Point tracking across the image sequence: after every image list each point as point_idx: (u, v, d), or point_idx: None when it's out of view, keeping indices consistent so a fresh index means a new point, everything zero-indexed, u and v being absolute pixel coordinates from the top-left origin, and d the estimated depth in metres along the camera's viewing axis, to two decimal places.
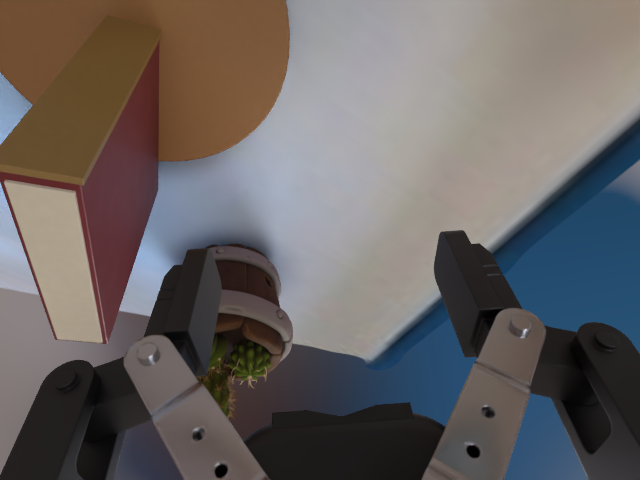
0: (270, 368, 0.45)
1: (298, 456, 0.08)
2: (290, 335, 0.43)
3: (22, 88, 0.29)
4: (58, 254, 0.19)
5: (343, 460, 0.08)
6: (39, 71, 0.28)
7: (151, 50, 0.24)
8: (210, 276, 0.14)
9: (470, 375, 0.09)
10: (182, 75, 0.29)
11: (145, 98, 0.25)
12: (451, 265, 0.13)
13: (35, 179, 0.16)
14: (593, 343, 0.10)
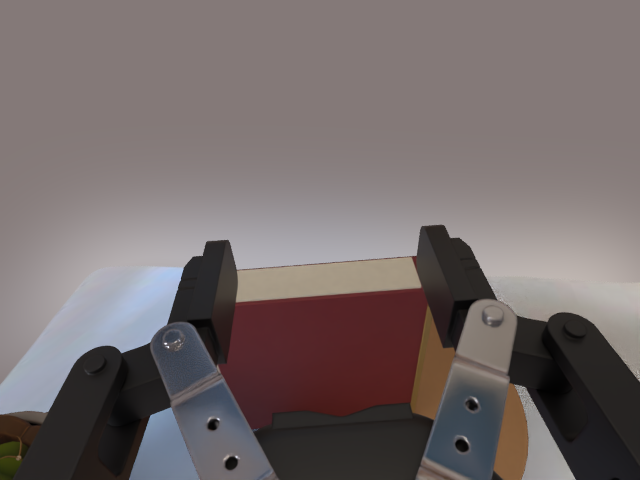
0: None
1: (298, 456, 0.08)
2: None
3: None
4: (346, 277, 0.24)
5: (343, 460, 0.08)
6: None
7: (416, 399, 0.31)
8: (228, 267, 0.14)
9: (451, 370, 0.09)
10: None
11: (382, 392, 0.30)
12: (431, 258, 0.13)
13: None
14: (562, 332, 0.10)
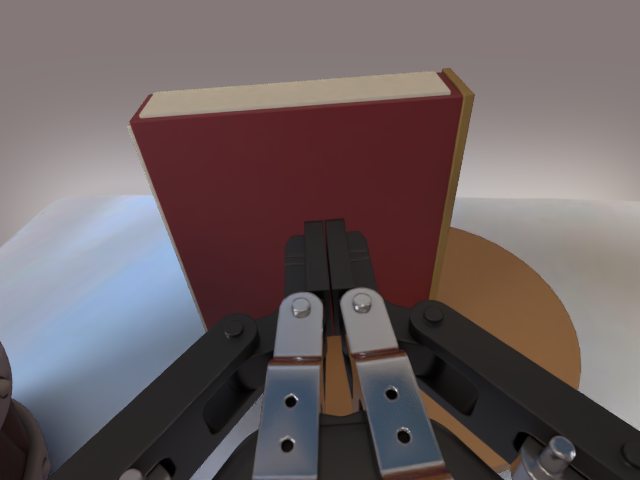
0: None
1: None
2: None
3: None
4: (344, 88, 0.17)
5: (343, 460, 0.08)
6: None
7: (435, 299, 0.24)
8: None
9: (359, 372, 0.09)
10: None
11: (391, 287, 0.23)
12: (327, 250, 0.14)
13: (447, 82, 0.18)
14: (421, 318, 0.11)
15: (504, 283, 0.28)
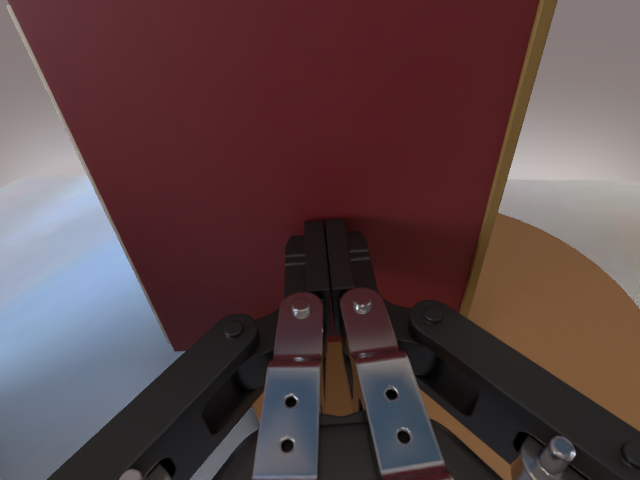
0: None
1: None
2: None
3: None
4: None
5: (343, 460, 0.08)
6: None
7: (473, 294, 0.18)
8: None
9: (359, 372, 0.09)
10: None
11: (414, 278, 0.17)
12: (327, 250, 0.14)
13: None
14: (421, 318, 0.11)
15: (555, 278, 0.22)
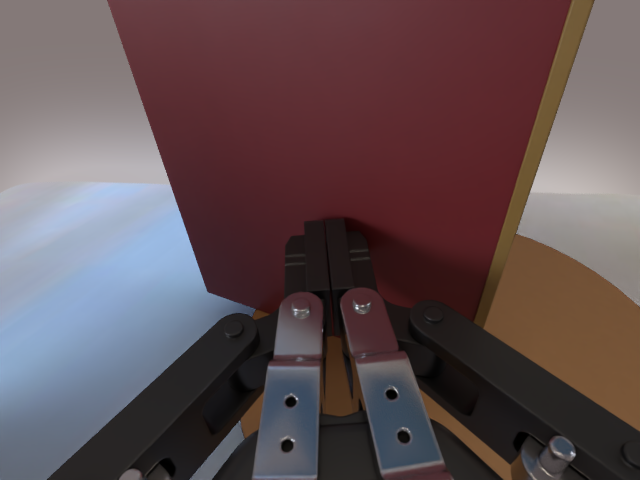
0: None
1: None
2: None
3: None
4: None
5: (343, 460, 0.08)
6: None
7: None
8: None
9: (359, 372, 0.09)
10: None
11: (413, 302, 0.16)
12: (327, 250, 0.14)
13: None
14: (421, 318, 0.11)
15: (622, 369, 0.18)
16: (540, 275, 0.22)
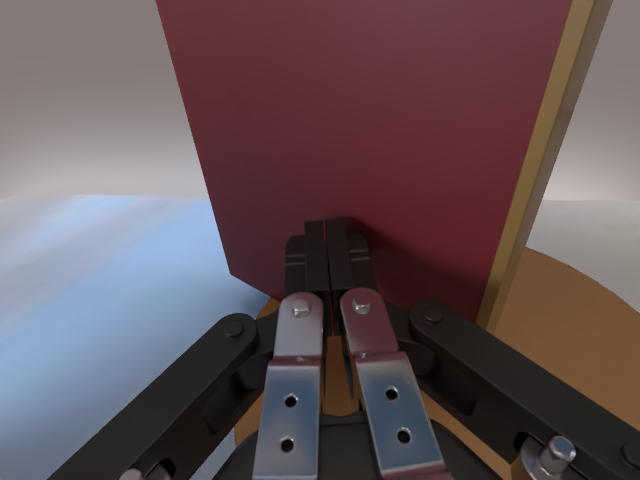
0: None
1: None
2: None
3: None
4: None
5: (343, 460, 0.08)
6: None
7: None
8: None
9: (359, 372, 0.09)
10: None
11: None
12: (327, 250, 0.14)
13: None
14: (421, 318, 0.11)
15: None
16: (572, 306, 0.21)
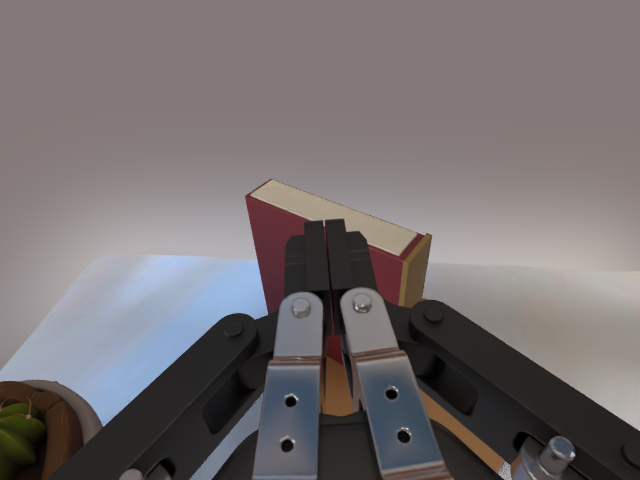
0: None
1: None
2: None
3: None
4: (352, 222, 0.28)
5: (343, 460, 0.08)
6: None
7: None
8: None
9: (359, 372, 0.09)
10: None
11: None
12: (327, 250, 0.14)
13: (413, 245, 0.26)
14: (421, 318, 0.11)
15: None
16: None
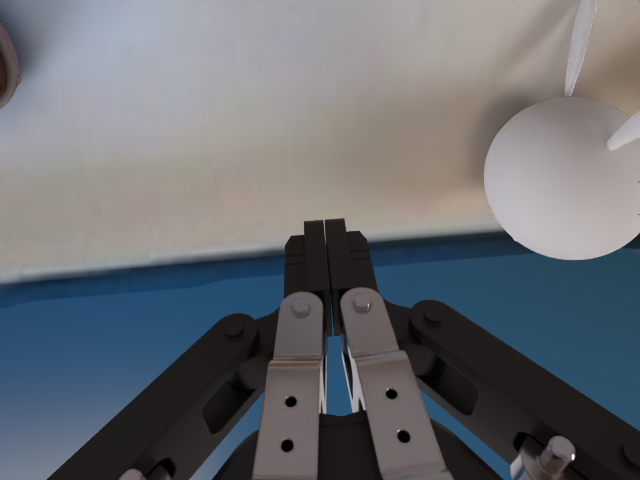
0: None
1: None
2: None
3: None
4: None
5: (343, 460, 0.08)
6: None
7: None
8: None
9: (359, 372, 0.09)
10: None
11: None
12: (327, 250, 0.14)
13: None
14: (421, 318, 0.11)
15: None
16: None
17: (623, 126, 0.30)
